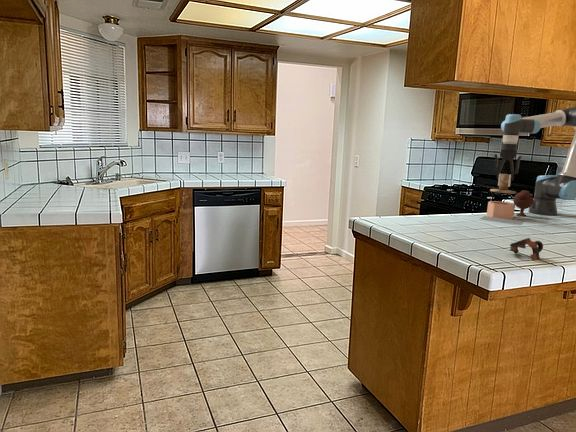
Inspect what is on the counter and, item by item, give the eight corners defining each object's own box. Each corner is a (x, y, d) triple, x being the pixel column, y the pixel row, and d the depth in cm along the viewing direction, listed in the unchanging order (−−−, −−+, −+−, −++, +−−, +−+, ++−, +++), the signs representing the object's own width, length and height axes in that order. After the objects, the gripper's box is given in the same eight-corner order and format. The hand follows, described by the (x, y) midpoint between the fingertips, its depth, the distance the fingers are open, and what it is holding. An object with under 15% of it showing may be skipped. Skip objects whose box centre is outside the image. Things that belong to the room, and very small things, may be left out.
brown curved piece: (528, 263, 159) (518, 241, 161) (510, 267, 168) (501, 246, 170) (554, 253, 162) (544, 232, 164) (535, 258, 171) (526, 237, 173)
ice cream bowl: (536, 217, 256) (540, 191, 253) (522, 217, 252) (525, 191, 249) (520, 213, 266) (524, 188, 263) (506, 214, 261) (510, 188, 259)
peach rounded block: (517, 193, 249) (519, 175, 248) (514, 194, 238) (517, 175, 237) (492, 190, 256) (494, 173, 255) (488, 191, 245) (490, 172, 244)
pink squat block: (514, 217, 252) (516, 203, 251) (510, 220, 242) (512, 205, 240) (489, 214, 259) (491, 200, 258) (485, 217, 249) (486, 202, 247)
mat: (524, 222, 238) (524, 221, 238) (520, 225, 227) (521, 224, 227) (484, 216, 249) (484, 215, 249) (479, 220, 238) (479, 219, 238)
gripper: (491, 142, 245) (485, 184, 249) (526, 144, 235) (520, 188, 239) (493, 142, 251) (488, 184, 255) (528, 144, 241) (522, 187, 246)
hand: (503, 185), depth 247 cm, fingers closed on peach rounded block, 4 cm apart
